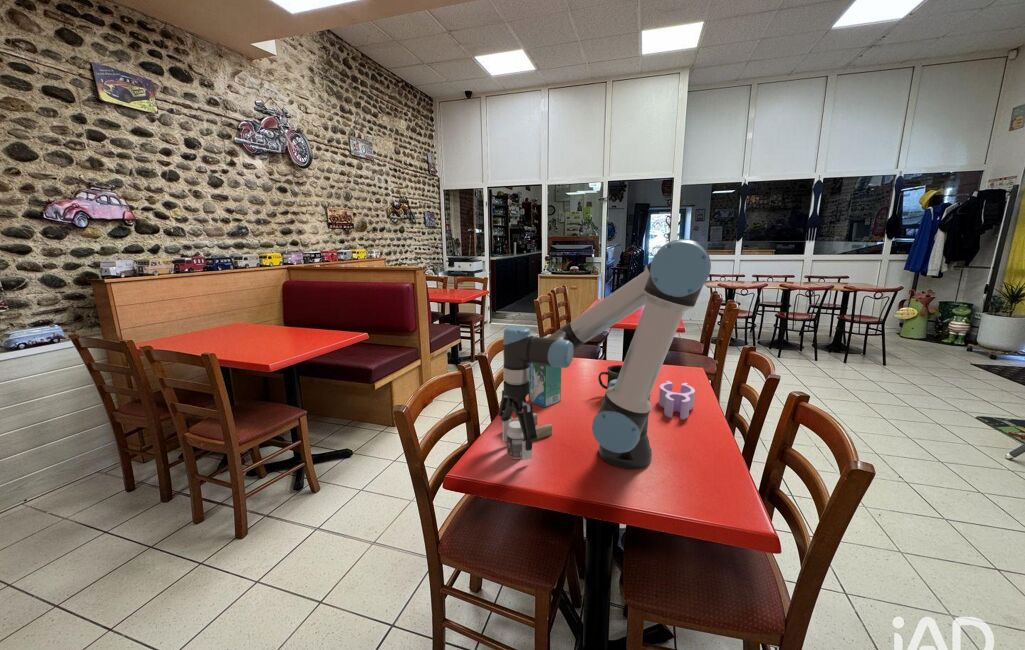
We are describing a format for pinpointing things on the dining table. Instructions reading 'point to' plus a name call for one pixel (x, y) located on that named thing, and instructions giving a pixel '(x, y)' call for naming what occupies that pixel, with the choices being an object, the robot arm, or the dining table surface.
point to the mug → (610, 374)
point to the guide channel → (539, 427)
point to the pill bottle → (514, 440)
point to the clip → (676, 399)
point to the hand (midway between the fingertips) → (516, 449)
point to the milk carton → (544, 384)
